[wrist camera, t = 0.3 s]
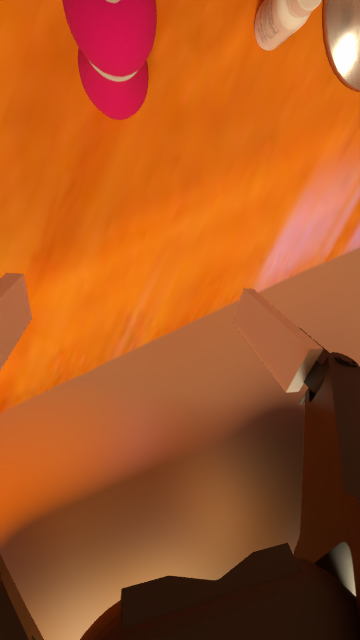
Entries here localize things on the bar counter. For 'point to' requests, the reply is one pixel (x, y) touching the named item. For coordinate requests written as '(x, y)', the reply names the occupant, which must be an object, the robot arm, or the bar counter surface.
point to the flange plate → (343, 39)
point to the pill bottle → (280, 20)
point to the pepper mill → (113, 51)
